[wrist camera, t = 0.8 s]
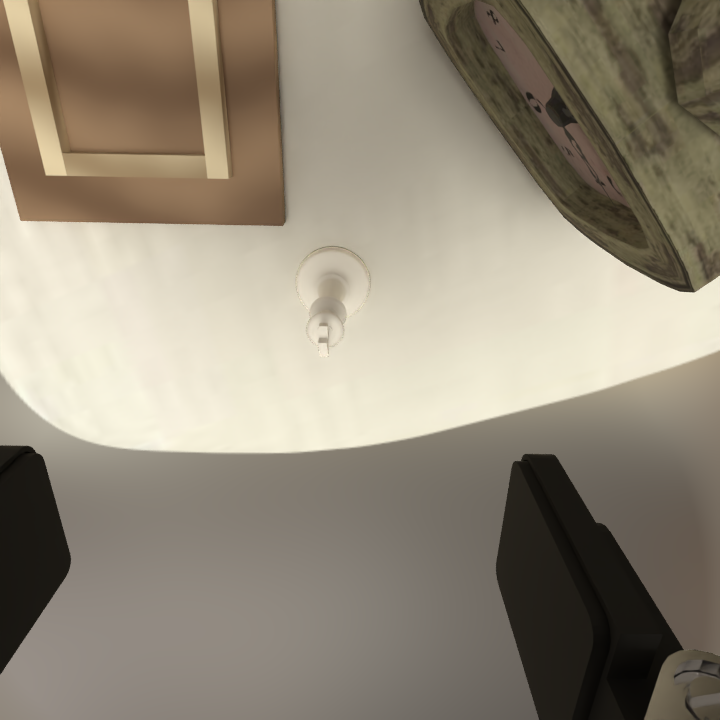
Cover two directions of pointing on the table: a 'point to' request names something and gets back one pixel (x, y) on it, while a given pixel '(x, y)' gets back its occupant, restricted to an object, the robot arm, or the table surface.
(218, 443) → the table surface
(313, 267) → the chess piece
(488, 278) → the table surface
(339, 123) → the table surface
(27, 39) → the walnut plate
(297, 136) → the table surface
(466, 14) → the tabletop clock
